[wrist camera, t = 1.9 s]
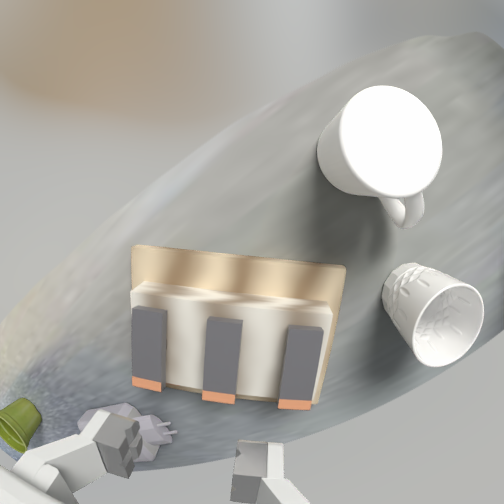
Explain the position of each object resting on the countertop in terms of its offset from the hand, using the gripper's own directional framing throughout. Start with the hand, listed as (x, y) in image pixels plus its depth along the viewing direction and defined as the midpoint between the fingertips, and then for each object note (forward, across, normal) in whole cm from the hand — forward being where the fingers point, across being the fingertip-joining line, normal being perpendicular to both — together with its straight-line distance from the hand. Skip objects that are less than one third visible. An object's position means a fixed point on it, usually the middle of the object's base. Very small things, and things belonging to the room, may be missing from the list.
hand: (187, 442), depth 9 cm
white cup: (+23, -18, +1) cm, 30 cm away
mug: (+23, -11, -12) cm, 28 cm away
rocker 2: (+17, +1, +7) cm, 18 cm away
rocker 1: (+17, +8, +7) cm, 20 cm away
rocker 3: (+17, -6, +7) cm, 19 cm away
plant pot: (+23, +39, +33) cm, 56 cm away
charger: (+24, +14, +26) cm, 38 cm away
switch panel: (+23, +1, +7) cm, 24 cm away
